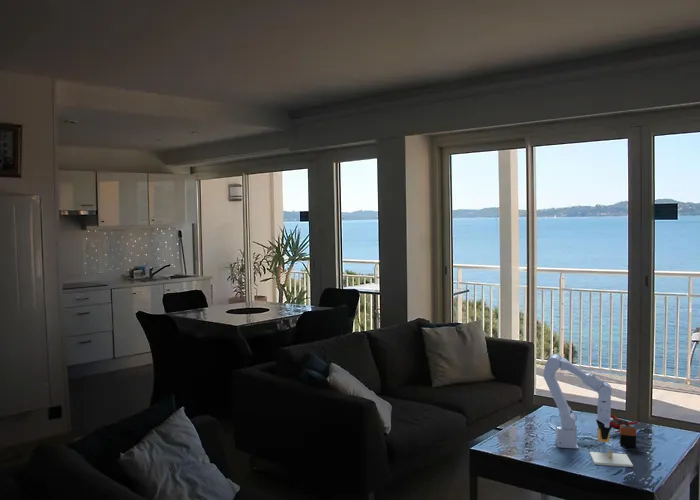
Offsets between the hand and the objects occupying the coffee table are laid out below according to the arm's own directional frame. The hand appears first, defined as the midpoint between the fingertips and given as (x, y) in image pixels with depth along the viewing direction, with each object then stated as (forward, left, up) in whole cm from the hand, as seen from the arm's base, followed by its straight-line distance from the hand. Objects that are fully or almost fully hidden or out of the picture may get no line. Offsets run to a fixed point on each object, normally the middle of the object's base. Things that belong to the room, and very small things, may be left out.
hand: (603, 437), depth 292 cm
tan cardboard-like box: (0, 0, -1) cm, 1 cm away
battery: (+13, +9, -7) cm, 17 cm away
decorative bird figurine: (+14, +26, -7) cm, 30 cm away
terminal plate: (+1, -11, -7) cm, 13 cm away
